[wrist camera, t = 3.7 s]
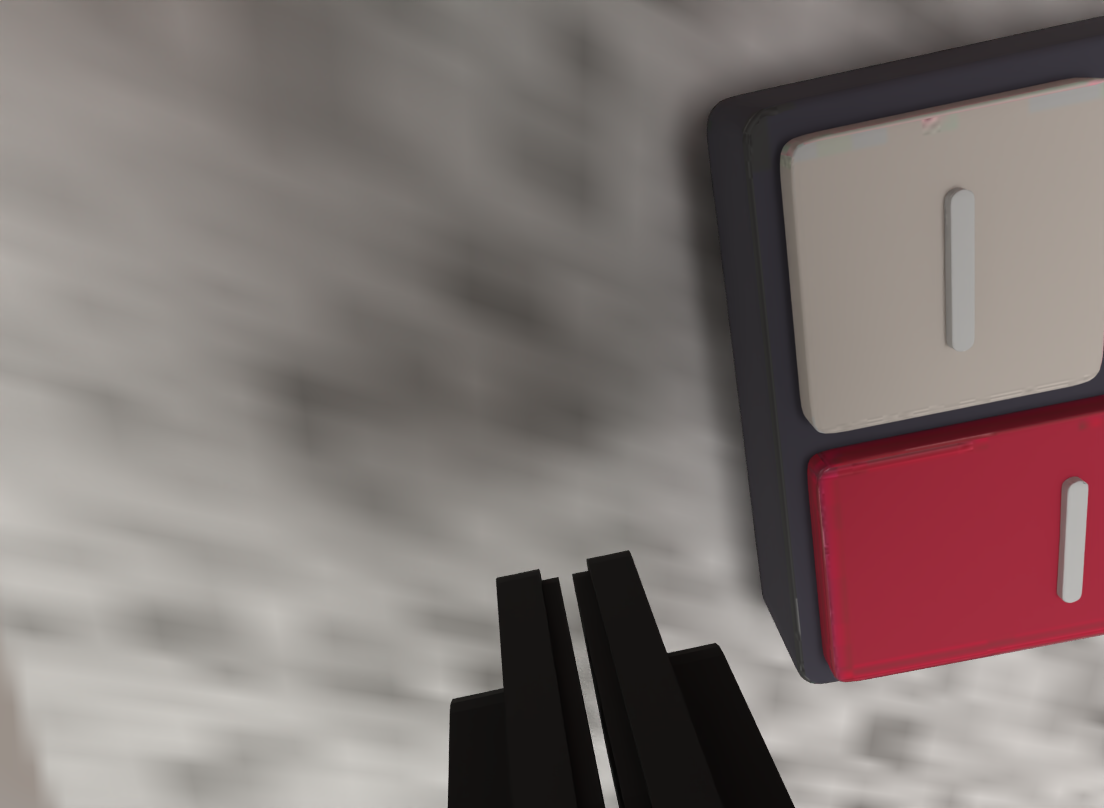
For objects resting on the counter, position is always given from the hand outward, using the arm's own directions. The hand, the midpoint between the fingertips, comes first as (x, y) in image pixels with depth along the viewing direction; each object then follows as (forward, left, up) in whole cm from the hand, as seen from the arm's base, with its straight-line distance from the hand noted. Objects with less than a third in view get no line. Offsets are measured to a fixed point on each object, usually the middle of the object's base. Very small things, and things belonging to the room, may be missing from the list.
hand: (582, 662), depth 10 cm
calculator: (0, +12, -7) cm, 14 cm away
